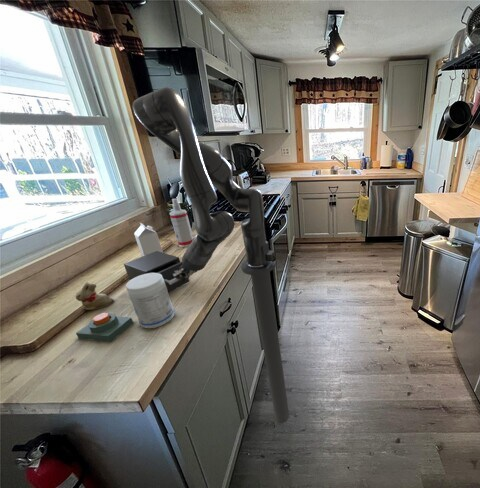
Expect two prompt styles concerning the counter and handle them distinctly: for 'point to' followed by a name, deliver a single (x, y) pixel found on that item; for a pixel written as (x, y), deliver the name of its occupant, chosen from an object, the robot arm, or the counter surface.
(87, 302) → the chocolate bunny
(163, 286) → the supplement tub
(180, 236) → the spray bottle
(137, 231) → the milk carton
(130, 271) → the small drawer cabinet
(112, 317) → the block
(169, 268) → the drawer
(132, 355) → the counter surface
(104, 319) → the button
